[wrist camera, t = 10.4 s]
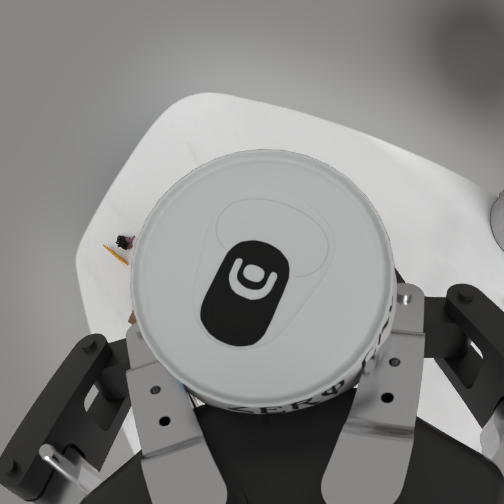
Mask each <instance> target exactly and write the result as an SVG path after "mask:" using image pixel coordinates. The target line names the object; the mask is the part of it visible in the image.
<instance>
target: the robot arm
mask: <svg viewBox="0 0 504 504" xmlns="http://www.w3.org/2000/svg"><path fill="white" fill-rule="evenodd" d="M491 226H492V231H493V234H494V236H495V239H496V240H497V242H498V244H499V245H500V247H501V248H502V249H503V250H504V190H503V191H502V192H501V193H500V194H499V200H498V201H497V202H496V203H495V204H494V205H493V207H492V210H491ZM394 268H395V267H394ZM395 274H396V280H397V304H396V313H395V317H394V321H393V325H392V329H391V332H390V334H389V336H388V337H387V339H386V340H385V341H384V343H383V344H382V345H381V347H380V348H379V349H378V351H377V352H376V353H375V355H374V356H373V357H372V358H370V359H369V360H368V361H367V362H366V363H365V365H364V368H363V372H362V375H361V378H360V382H359V385H358V388H351V389H349V390H347V391H345V392H343V393H341V394H339V395H337V396H335V397H333V398H330V399H328V400H326V401H323V402H321V403H318V404H316V405H314V406H310V407H306V408H302V409H298V410H294V411H290V412H284V413H270V414H252V413H243V412H235V411H230V410H226V409H222V408H219V407H215V406H210V405H207V404H205V405H201V406H199V405H198V403H197V400H196V398H195V397H194V396H193V395H191V394H190V393H188V392H187V390H186V389H185V387H184V385H183V383H182V382H180V381H179V380H177V379H176V378H175V377H174V376H173V375H172V374H171V373H170V372H169V371H168V370H167V369H166V368H165V367H164V366H163V365H162V364H161V363H160V362H159V361H158V360H157V359H156V357H155V356H154V354H153V353H152V351H151V349H150V348H149V346H148V345H147V343H146V341H145V340H144V338H143V336H142V334H141V331H140V328H139V326H138V323H137V322H136V323H135V324H133V325H132V326H131V327H130V328H129V329H128V331H127V333H126V338H125V339H122V340H118V341H115V342H111V343H108V342H107V340H106V338H105V337H104V336H103V335H102V334H91V335H88V336H86V337H84V338H83V339H81V340H80V341H79V342H78V343H77V344H76V345H75V347H74V348H73V349H72V351H71V352H70V353H69V355H68V356H67V357H66V359H65V360H64V361H63V363H62V364H61V366H60V367H59V368H58V370H57V371H56V373H55V374H54V375H53V377H52V378H51V380H50V381H49V382H48V384H47V385H46V387H45V388H44V390H43V391H42V392H41V394H40V395H39V397H38V398H37V400H36V401H35V403H34V404H33V406H32V407H31V409H30V410H29V412H28V413H27V415H26V416H25V418H24V419H23V421H22V422H21V424H20V426H19V427H18V429H17V430H16V432H15V434H14V435H13V437H12V438H11V440H10V442H9V443H8V445H7V447H6V448H5V450H4V451H3V453H2V455H1V457H0V484H2V485H3V486H4V487H6V488H7V489H8V490H10V491H11V492H13V493H14V494H16V495H17V496H18V497H19V498H20V499H21V500H23V501H24V502H26V503H27V504H504V312H503V311H502V310H501V309H500V308H499V307H498V306H497V305H496V304H495V303H493V302H492V301H491V300H490V299H489V298H488V297H487V296H486V295H485V294H483V293H482V292H481V291H480V290H479V289H478V288H476V287H474V286H472V285H468V284H456V285H453V286H451V287H450V288H449V289H448V291H447V295H446V297H426V296H424V293H423V291H422V290H421V289H420V288H419V287H417V286H415V285H413V284H409V283H405V281H404V280H403V278H402V277H401V275H400V274H399V273H398V271H397V270H396V268H395ZM471 341H473V343H474V344H475V345H476V346H477V347H478V348H479V349H480V351H481V353H482V356H483V359H482V357H481V356H480V355H479V354H478V353H477V351H476V350H475V349H474V348H473V347H472V346H471V345H470V344H471ZM424 358H434V360H435V361H436V363H437V364H438V365H439V367H440V368H441V370H442V371H443V372H444V374H445V375H446V376H447V378H448V379H449V381H450V382H451V384H452V385H453V386H454V388H455V389H456V391H457V392H458V394H459V395H460V396H461V398H462V399H463V401H464V402H465V404H466V405H467V407H468V408H469V410H470V411H471V413H472V414H473V416H474V417H475V419H476V420H477V422H478V423H479V425H480V426H481V428H482V431H481V435H480V443H481V446H482V454H481V453H479V452H477V451H475V450H473V449H472V448H470V447H468V446H466V445H465V444H463V443H461V442H459V441H458V440H456V439H454V438H452V437H451V436H449V435H447V434H446V433H444V432H442V431H441V430H439V429H437V428H436V427H434V426H432V425H431V424H429V423H427V422H426V421H424V420H422V419H421V418H419V417H417V416H416V415H417V409H418V402H419V395H420V387H421V379H422V370H423V359H424ZM93 384H94V385H95V386H96V388H97V389H98V390H99V392H98V394H97V396H96V398H95V399H94V401H93V403H92V404H91V406H90V408H89V409H88V411H87V412H86V410H85V408H84V400H85V397H86V396H87V394H88V392H89V391H90V389H91V387H92V386H93ZM131 405H132V409H133V414H134V419H135V423H136V428H137V432H138V436H139V440H140V444H141V448H142V449H141V450H140V451H139V452H138V453H137V454H136V455H134V456H133V457H132V458H131V459H130V460H129V461H127V463H125V464H124V465H123V466H122V467H120V468H119V469H118V470H117V471H116V472H114V473H113V474H112V475H111V476H110V477H108V478H107V479H106V480H105V481H104V482H102V483H101V484H100V475H99V472H100V470H101V468H102V465H103V463H104V461H105V459H106V457H107V455H108V453H109V451H110V448H111V446H112V444H113V442H114V440H115V438H116V436H117V434H118V432H119V430H120V428H121V426H122V424H123V422H124V420H125V418H126V415H127V413H128V411H129V409H130V407H131Z"/></svg>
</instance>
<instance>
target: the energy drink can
mask: <svg viewBox="0 0 504 504" xmlns="http://www.w3.org/2000/svg"><path fill="white" fill-rule="evenodd" d="M130 290H131V297H132V304H133V310H134V315H135V317H136V320H137V323H138V326H139V328H140V331H141V334H142V336H143V338H144V340H145V341H146V343H147V345H148V346H149V348H150V349H151V351H152V353H153V354H154V356H155V357H156V359H157V360H158V361H159V362H160V363H161V364H162V365H163V366H164V367H165V368H166V369H167V370H168V371H169V372H170V373H171V374H172V375H173V376H174V377H175V378H176V379H177V380H179V381H180V382H182V383H183V385H184V387H185V389H186V390H187V392H188V393H190V394H191V395H193V396H194V397H196V398H197V399H199V400H200V401H202V402H203V403H205V404H207V405H210V406H215V407H219V408H222V409H226V410H230V411H235V412H243V413H252V414H270V413H284V412H290V411H294V410H298V409H302V408H306V407H310V406H314V405H316V404H318V403H321V402H323V401H326V400H328V399H330V398H333V397H335V396H337V395H339V394H341V393H343V392H345V391H347V390H349V389H351V388H353V387H354V386H356V385H357V384H358V383H359V382H360V378H361V375H362V372H363V368H364V365H365V363H366V362H367V361H368V360H369V359H370V358H372V357H373V356H374V355H375V353H376V352H377V351H378V349H379V348H380V347H381V345H382V344H383V343H384V341H385V340H386V339H387V337H388V336H389V334H390V332H391V329H392V325H393V321H394V317H395V313H396V304H397V280H396V274H395V268H394V261H393V255H392V250H391V245H390V240H389V237H388V235H387V232H386V230H385V227H384V225H383V222H382V220H381V218H380V216H379V214H378V213H377V211H376V210H375V208H374V207H373V205H372V204H371V202H370V201H369V199H368V198H367V196H366V195H365V194H364V193H363V192H362V191H361V190H360V189H359V188H358V187H357V186H356V185H355V184H354V183H353V182H352V181H351V180H350V179H349V178H348V177H346V176H345V175H343V174H342V173H340V172H339V171H337V170H336V169H334V168H333V167H331V166H330V165H328V164H326V163H323V162H321V161H319V160H316V159H314V158H312V157H309V156H307V155H303V154H298V153H294V152H289V151H285V150H269V149H257V150H249V151H242V152H236V153H232V154H229V155H226V156H223V157H219V158H216V159H214V160H212V161H210V162H208V163H206V164H204V165H202V166H200V167H198V168H196V169H194V170H192V171H191V172H190V173H188V174H187V175H186V176H184V177H183V178H182V179H180V180H179V181H178V182H176V183H175V184H174V185H173V186H172V187H171V188H170V189H169V190H168V191H167V192H166V193H165V194H164V195H163V197H162V198H161V199H160V200H159V201H158V202H157V204H156V205H155V207H154V208H153V210H152V211H151V213H150V214H149V216H148V217H147V219H146V221H145V223H144V225H143V228H142V230H141V232H140V235H139V237H138V239H137V242H136V246H135V250H134V254H133V259H132V263H131V281H130Z"/></svg>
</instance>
